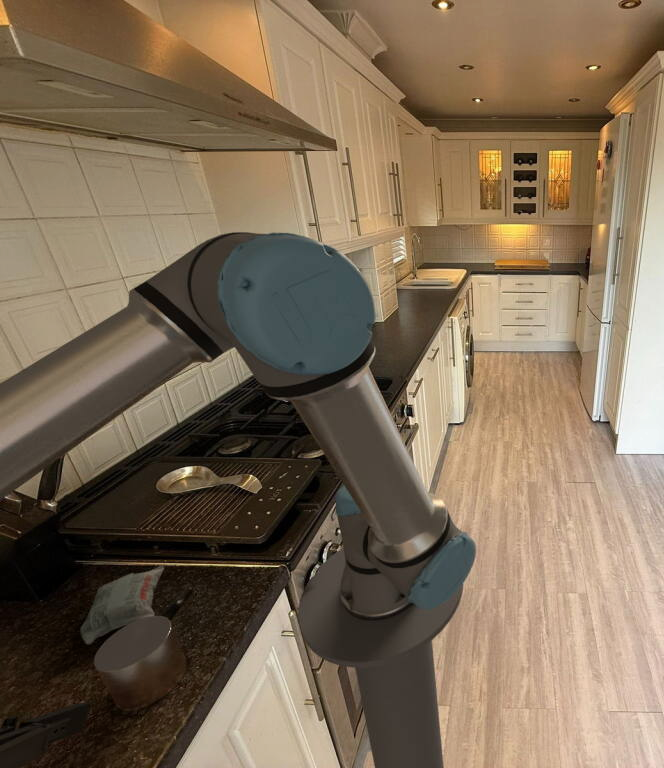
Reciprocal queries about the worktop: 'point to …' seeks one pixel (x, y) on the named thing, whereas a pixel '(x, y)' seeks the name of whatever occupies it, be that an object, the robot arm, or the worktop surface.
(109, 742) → the worktop surface
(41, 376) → the robot arm
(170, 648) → the saucepan
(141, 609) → the packaged food
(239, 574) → the worktop surface
